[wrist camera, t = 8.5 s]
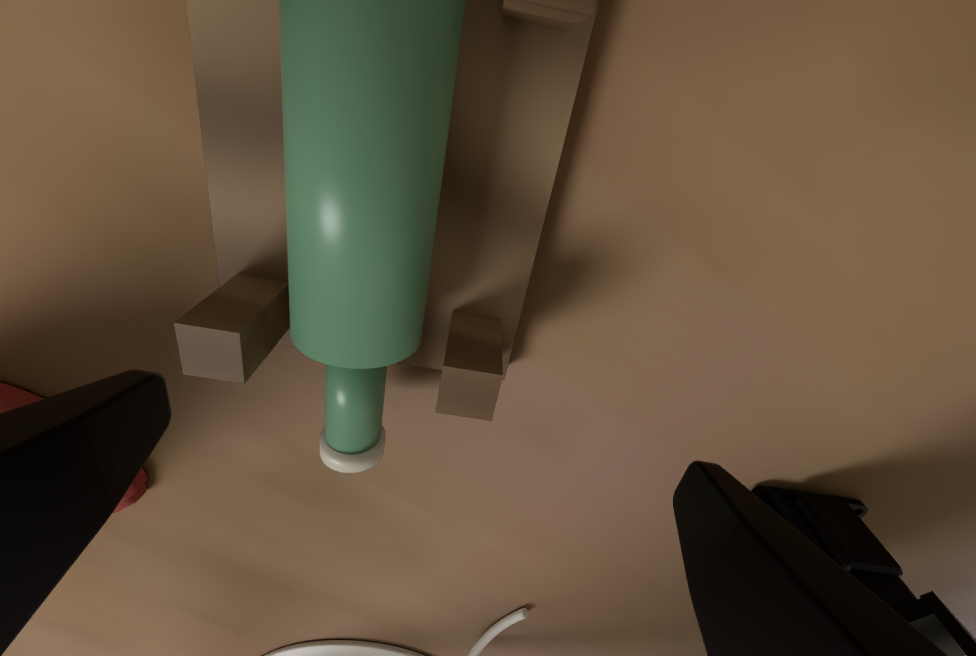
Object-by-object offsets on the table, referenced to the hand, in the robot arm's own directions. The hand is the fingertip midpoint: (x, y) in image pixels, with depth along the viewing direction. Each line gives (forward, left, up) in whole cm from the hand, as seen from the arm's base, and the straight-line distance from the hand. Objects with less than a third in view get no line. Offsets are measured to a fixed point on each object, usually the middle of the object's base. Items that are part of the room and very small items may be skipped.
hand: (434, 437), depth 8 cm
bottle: (-1, +4, -10) cm, 11 cm away
